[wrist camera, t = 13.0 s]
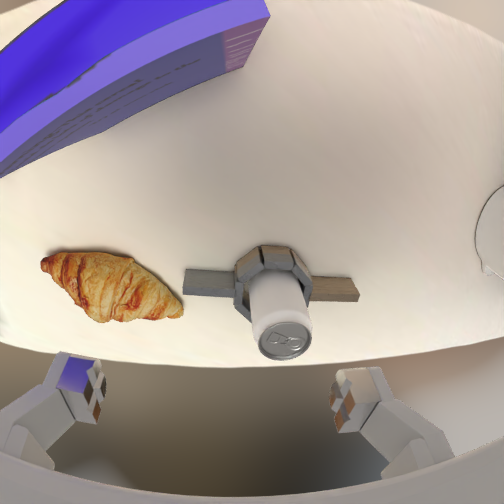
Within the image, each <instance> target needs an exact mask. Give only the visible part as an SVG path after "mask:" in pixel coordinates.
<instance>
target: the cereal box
mask: <svg viewBox="0 0 504 504" xmlns="http://www.w3.org/2000/svg"><path fill="white" fill-rule="evenodd" d="M269 18H270V13H269V11H268V9H267V7H266V4H265V2H264V0H64V1H62V2H61V3H60V4H58V5H57V6H55V7H54V8H52V9H51V10H50V11H48V12H47V13H46V14H44V15H43V16H42V17H40V18H39V19H38V20H36V21H35V22H34V23H33V24H31V25H30V26H29V27H28V28H26V29H25V30H24V31H23V32H21V33H20V34H19V35H18V36H17V37H16V38H14V39H13V40H12V41H11V42H10V43H9V44H8V45H7V46H5V47H4V48H3V49H2V50H1V51H0V178H2V177H4V176H5V175H7V174H9V173H11V172H13V171H15V170H17V169H19V168H21V167H23V166H25V165H27V164H29V163H31V162H33V161H35V160H37V159H40V158H42V157H44V156H46V155H48V154H50V153H53V152H55V151H57V150H59V149H62V148H64V147H66V146H69V145H71V144H73V143H76V142H78V141H81V140H83V139H86V138H88V137H91V136H93V135H96V134H99V133H101V132H103V131H105V130H107V129H109V128H110V127H112V126H114V125H116V124H117V123H119V122H121V121H123V120H125V119H127V118H128V117H130V116H132V115H134V114H136V113H138V112H140V111H142V110H144V109H146V108H148V107H150V106H152V105H154V104H156V103H158V102H160V101H162V100H164V99H166V98H168V97H170V96H173V95H175V94H177V93H179V92H181V91H184V90H186V89H188V88H191V87H193V86H195V85H198V84H200V83H202V82H205V81H207V80H210V79H212V78H215V77H217V76H220V75H222V74H225V73H227V72H230V71H233V70H235V69H238V68H241V67H243V66H244V64H245V62H246V60H247V58H248V56H249V54H250V52H251V50H252V49H253V47H254V45H255V43H256V41H257V39H258V37H259V36H260V34H261V32H262V30H263V28H264V27H265V25H266V23H267V21H268V19H269Z"/></svg>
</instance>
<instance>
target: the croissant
mask: <svg viewBox="0 0 504 504" xmlns="http://www.w3.org/2000/svg"><path fill="white" fill-rule="evenodd" d="M134 262H135V261H134V259H132V258H124V257H118V256H113V255H111V254H108V253H100V252H91V253H83V252H81V253H63V252H60V253H58V254H55V255H52V256H49V257H45V258H43V259H42V261H41V269H42V271H43V272H47V273H49V274H51V276H52V279H53V280H54V282H56V283H57V284H58V285H59V286H60V287H61V288H63V289H65V291H66V292H68V293H69V295H70V296H71V298H72V299H73V300H74V301H75V304H76V305H78V306H80V307H81V308H83V309H84V311H85V312H86V314H87V315H88V316H89V317H90V318H92V319H93V320H94V321H97V322H99V323H105V322H109V321H110V320H111V319H114V320H116V321H119V322H123V321H124V322H129V321H132V320H133V319H136V318H138V319H141V318H142V319H149V320H159V319H162V318H165V317H168V318H171V319H175V318H180V317H181V316H183V310H184V309H183V306H182V304H181V303H180V302H179V301H178V299H177V298H175V297H174V296H173V295H172V293H171V292H170V291H169V289H168V288H167V287H166V286H165V285H164V284H163V283H161V282H160V281H159V280H158V279H157V278H156V277H154V276H153V275H152V274H151V273H150V272H148V271H146V270H145V269H144V268H142V267H141V266H139V265H138V264H135V263H134Z"/></svg>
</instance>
